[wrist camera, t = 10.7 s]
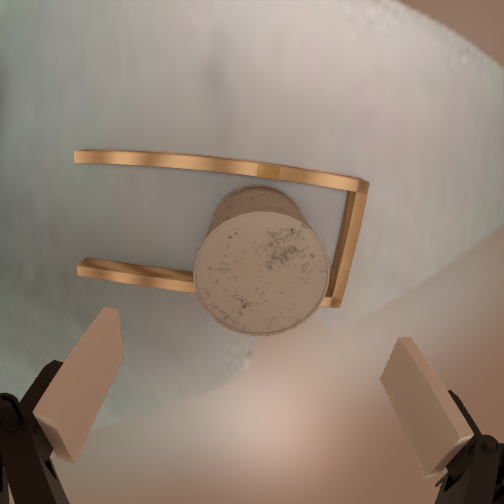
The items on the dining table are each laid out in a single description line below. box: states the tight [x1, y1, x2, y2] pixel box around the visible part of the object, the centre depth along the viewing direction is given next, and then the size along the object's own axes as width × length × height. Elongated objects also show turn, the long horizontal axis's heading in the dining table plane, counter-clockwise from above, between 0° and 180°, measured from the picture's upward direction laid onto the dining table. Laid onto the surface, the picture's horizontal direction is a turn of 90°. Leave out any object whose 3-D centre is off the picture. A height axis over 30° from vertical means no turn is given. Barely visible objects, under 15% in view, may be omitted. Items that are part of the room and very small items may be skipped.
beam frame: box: [74, 150, 369, 308], centre depth 31 cm, size 30×14×3 cm, turn 83°
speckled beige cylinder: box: [193, 184, 330, 336], centre depth 27 cm, size 10×10×12 cm
